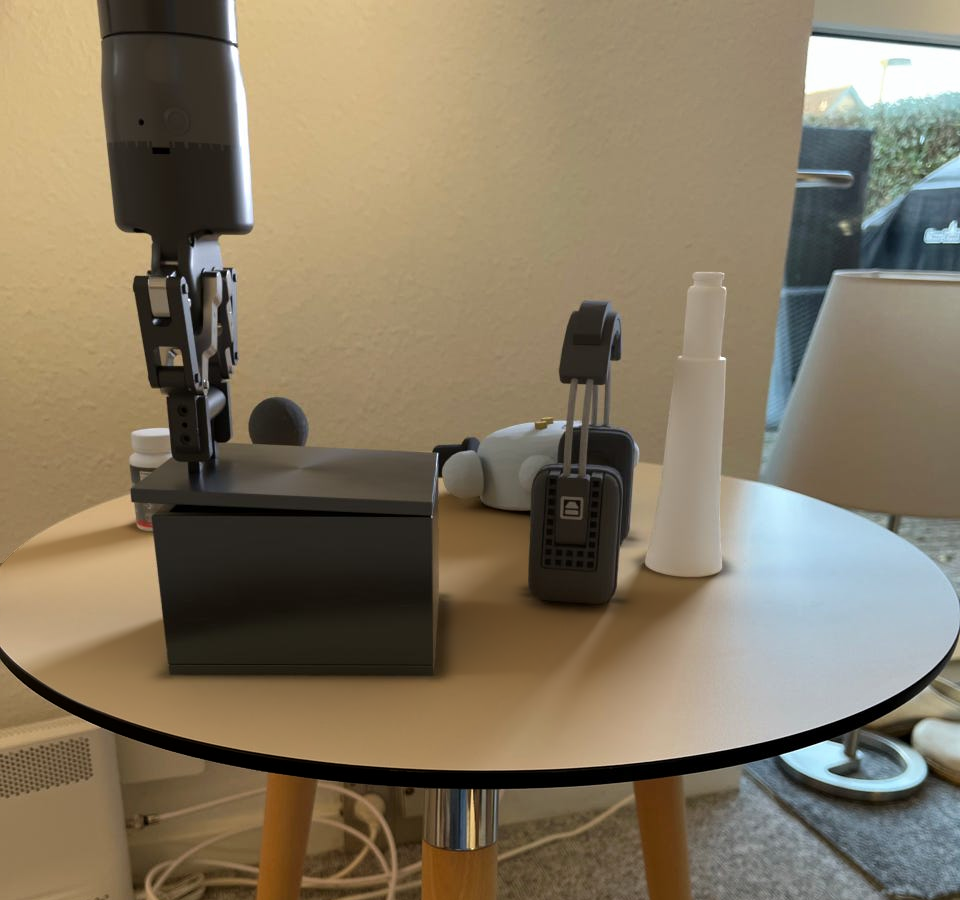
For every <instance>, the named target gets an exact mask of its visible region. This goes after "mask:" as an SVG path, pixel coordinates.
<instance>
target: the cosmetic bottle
mask: <svg viewBox="0 0 960 900" xmlns="http://www.w3.org/2000/svg"><path fill="white" fill-rule="evenodd" d="M692 280H693V285H691V286H689V287H688V289H687V293H686V302H685V303H686V305H685V317H684V330H683V343H682V353H681V355H678V356H677V357H676V359H675V365H674V372H673V373H674V374H673V381H672V387H671V395H670V403H669V404H670V405H669V411H668V420H667V429H666V436H665V445H664V451H663V452H664V454H663V460H662V469H661V475H660V484H659V491H658V497H657V503H656V510H655V514H654V515H655V516H654V521H653V525H652V532H651V536H650V540H649V544H648V547H647V551H646V556H645V558H644V559H645V560H644V564H645V566H646V567H647V568H648V569H650V570H651V571H653V572H656V573H659V574H662V575H667V576H673V577H682V578H699V577H702V578H703V577H707V576H713V575H716V574H718V573H720V572H721V571H722V570H723V559H722V558H723V557H722V546H721V545H722V543H721V513H720V512H721V511H720V510H721V477H722V456H723V439H724V438H723V437H724V419H725V418H724V417H725V400H726V399H725V397H726V376H727V375H726V372H727V358H726V357H723V356H722V346H723V337H724V324H725V314H726V304H727V294H728V293H727V288H726V287H725V286H723V285H722V284H723V281H724V280H725V273H724V272H722V271H721V272H720V271H719V272H718V271H695V272H692Z"/></svg>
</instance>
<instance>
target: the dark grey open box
mask: <svg viewBox="0 0 960 900" xmlns="http://www.w3.org/2000/svg"><path fill="white" fill-rule="evenodd" d="M151 519H152V528H153V531H152V535H153V536H152V537H153V545H154V553H155V563H156V571H157V578H158V588H159V596H160V605H161V615H162V622H163V630H164V631H163V632H164V640H165V649H166V657H167V664H168V665H167V667H168V674H169V676H316V677H317V676H321V677H324V676H325V677H326V676H330V677H332V676H335V677H337V676H338V677H339V676H340V677H343V676H345V677H346V676H347V677H348V676H349V677H350V676H351V677H352V676H353V677H354V676H355V677H359V676H360V677H366V676H367V677H368V676H369V677H384V676H385V677H402V676H403V677H433V676H434V674H435V663H436V662H435V660H436V648H437V647H436V646H437V634H438V633H437V632H438V617H439V606H440V605H439V604H440V556H439V554H440V536H439V535H440V534H439V533H440V530H439V529H440V528H439V527H440V524H439V478H438V468H437V476H436V485H435V493H434V502H433V510H432V516H421V515H399V514H377V513H355V512H333V511H311V510H289V509H267V508H245V507H222V506H200V505H178V504H163V505H162V506H161V507H160V508H159V509H158V510H157V511H156V512H155V513H154V514H153V515H152V516H151Z"/></svg>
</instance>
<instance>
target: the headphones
mask: <svg viewBox="0 0 960 900" xmlns="http://www.w3.org/2000/svg"><path fill="white" fill-rule="evenodd" d="M622 328H623V327H622V317H621V314H620V312H619V311H614V309H613V304H612V302H611V301H610V300H583V301H582V302H581V304H580V306H579V308H578V310H573V311H572V312H571V314H570V317H569V319H568V321H567V325H566V329H565V333H564V339H563V343H562V347H561V353H560V360H559V365H558V366H559V367H558V377H559V382H560V383H561V384H564V385H569V393H568V401H567V402H568V403H567V412H566V420H565V421H566V431H565V432H564V433H563V435H562V437H561V438H560V441H559V445H558V456H557V463H556V464H549V465H545V466H543V467H542V468H540V470H539V471H538V472H537V474H536V476H535V478H534V479H533V484H532V488H531V510H530V516H529V517H530V520H529V542H528V543H529V544H528V565H527V566H528V569H527V584H528V590H529V593H530V594H531V596H532V597H534V598H536V599H538V600H543V601H549V602H562V603H574V604H575V603H576V604H587V605H598V604H605V603H606V602H608V601H609V600H611V599H612V598H613V596H615V594H616V590H617V587H618V576H619V575H618V574H619V563H620V562H619V561H620V544H621V542H624V540H626V538H627V537H628V535H629V533H630V530H631V516H632V500H633V487H634V486H633V485H634V474H635V473H634V472H635V467H634V459H635V444H634V442H635V439H634V436H633V435H632V433H630V432H629V431H628V430H626V429H624V428H622V427H620V426H614V424H612V423H610V412H611V389H612V387H611V386H612V362H619V361H620V360H621V359H622V353H623V331H622V330H623V329H622ZM578 385H585V389H584V398H583V407H582V416H581V417H582V418H581V421H582V425H579V426H577V427H573V423H574V421H575V413H576V402H577V394H578V393H577V392H578ZM599 386H604V398H603V399H604V403H603V422H601V423H600V422H599V423H598V406H599ZM590 416H591V418H590ZM590 419H591V420H590ZM589 423H590V424H589Z"/></svg>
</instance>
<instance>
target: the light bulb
mask: <svg viewBox="0 0 960 900" xmlns="http://www.w3.org/2000/svg"><path fill="white" fill-rule="evenodd" d="M247 424H248V425H247V426H248V428H247V429H248V435H249V439H250V441H251V444H264V445H286V446H306V444H307V441H308V438H309V431H310V426H309V422H308V417H307V415H306V413H305V412H304V410H303V409H302V408H301V406H299V405H298V404H297V403H296V402H295V401H293V400H291V399H289V398H287V397H283V396H272V397H267V398H265V399H263V400H262V401H260V402H258V404H257V405H256V406H255V407H254V408H253V409H252V411H251V413H250V415H249V418H248V423H247Z"/></svg>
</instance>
